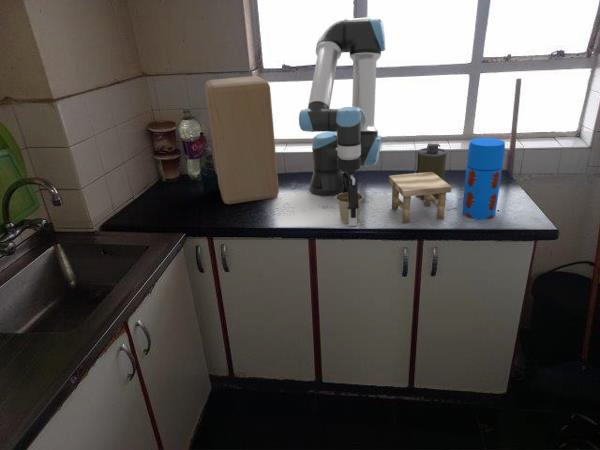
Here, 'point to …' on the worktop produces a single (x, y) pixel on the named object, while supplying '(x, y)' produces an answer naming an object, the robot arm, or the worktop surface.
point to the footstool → (418, 192)
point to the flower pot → (344, 203)
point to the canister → (431, 162)
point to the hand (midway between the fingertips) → (349, 219)
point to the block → (243, 138)
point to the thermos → (483, 177)
